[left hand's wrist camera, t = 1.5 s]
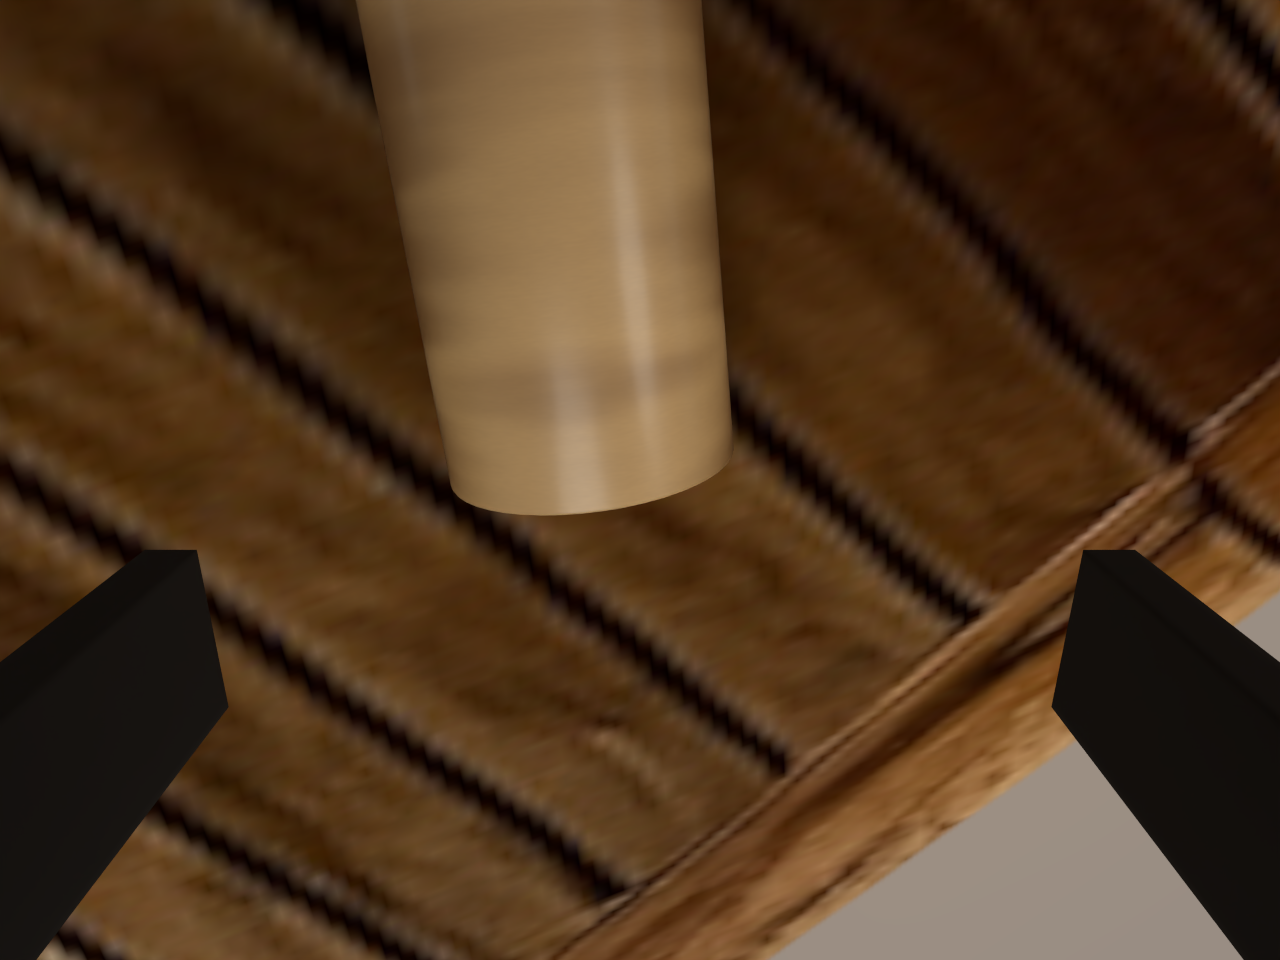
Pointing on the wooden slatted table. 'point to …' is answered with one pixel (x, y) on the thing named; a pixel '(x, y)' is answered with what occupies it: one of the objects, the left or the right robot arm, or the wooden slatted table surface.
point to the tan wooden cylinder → (559, 242)
